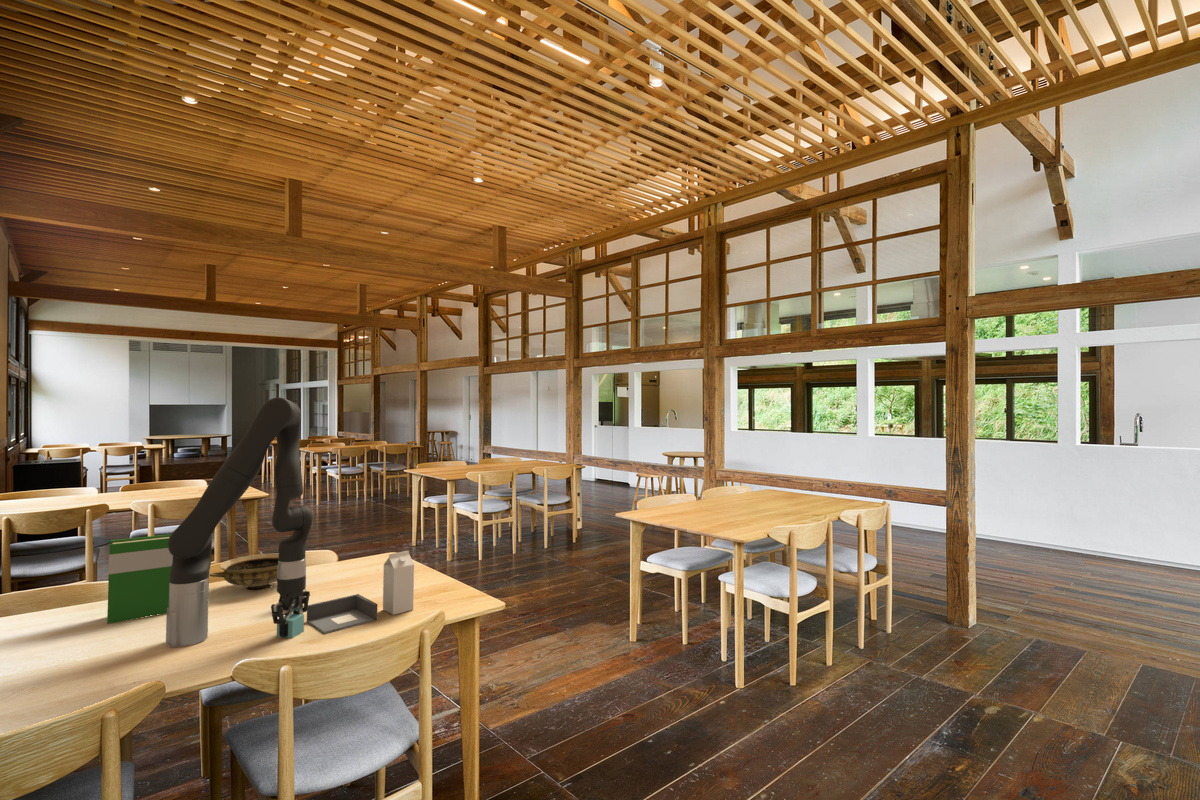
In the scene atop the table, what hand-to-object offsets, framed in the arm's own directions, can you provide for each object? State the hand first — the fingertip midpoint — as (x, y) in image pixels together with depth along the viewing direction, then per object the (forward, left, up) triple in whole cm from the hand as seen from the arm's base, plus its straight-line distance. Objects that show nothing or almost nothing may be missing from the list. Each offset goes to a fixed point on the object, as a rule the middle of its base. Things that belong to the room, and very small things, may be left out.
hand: (290, 632), depth 168 cm
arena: (+15, 0, 0) cm, 15 cm away
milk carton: (+32, -3, -1) cm, 32 cm away
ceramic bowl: (+7, +55, -1) cm, 55 cm away
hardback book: (-27, +50, -1) cm, 57 cm away
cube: (0, 0, 0) cm, 0 cm away
